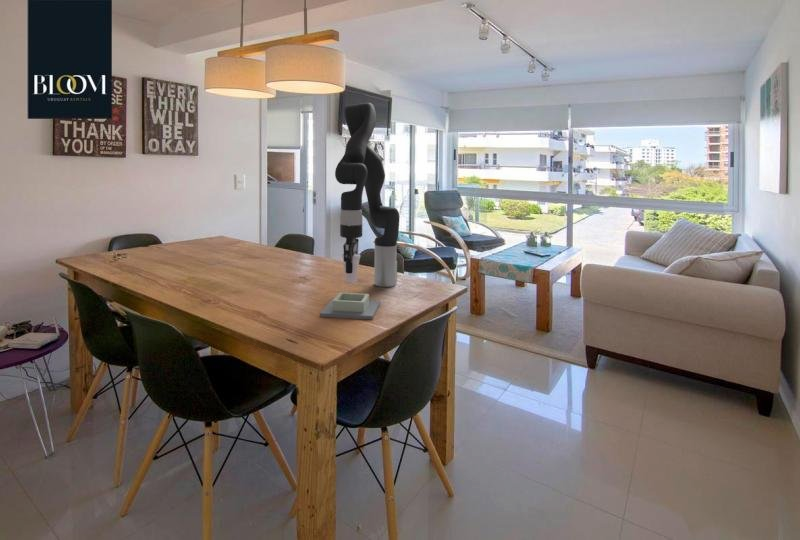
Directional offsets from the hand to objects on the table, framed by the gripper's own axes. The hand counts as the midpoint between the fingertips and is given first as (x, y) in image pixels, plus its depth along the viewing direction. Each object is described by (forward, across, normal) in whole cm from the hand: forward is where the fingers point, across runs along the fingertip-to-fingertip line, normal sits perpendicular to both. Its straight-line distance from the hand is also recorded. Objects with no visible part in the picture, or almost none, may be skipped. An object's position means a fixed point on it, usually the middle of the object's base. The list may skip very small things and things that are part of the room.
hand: (351, 270), depth 168 cm
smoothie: (+4, 0, 0) cm, 4 cm away
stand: (+14, 0, 0) cm, 14 cm away
